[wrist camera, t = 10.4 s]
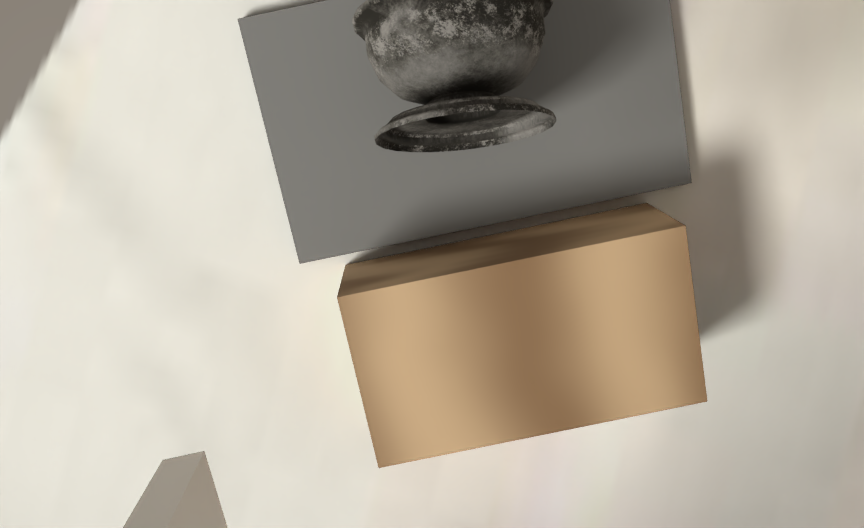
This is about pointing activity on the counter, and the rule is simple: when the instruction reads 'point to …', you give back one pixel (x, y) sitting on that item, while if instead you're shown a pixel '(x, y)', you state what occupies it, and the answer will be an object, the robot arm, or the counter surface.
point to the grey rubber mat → (473, 168)
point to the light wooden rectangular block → (523, 333)
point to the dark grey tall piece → (455, 70)
